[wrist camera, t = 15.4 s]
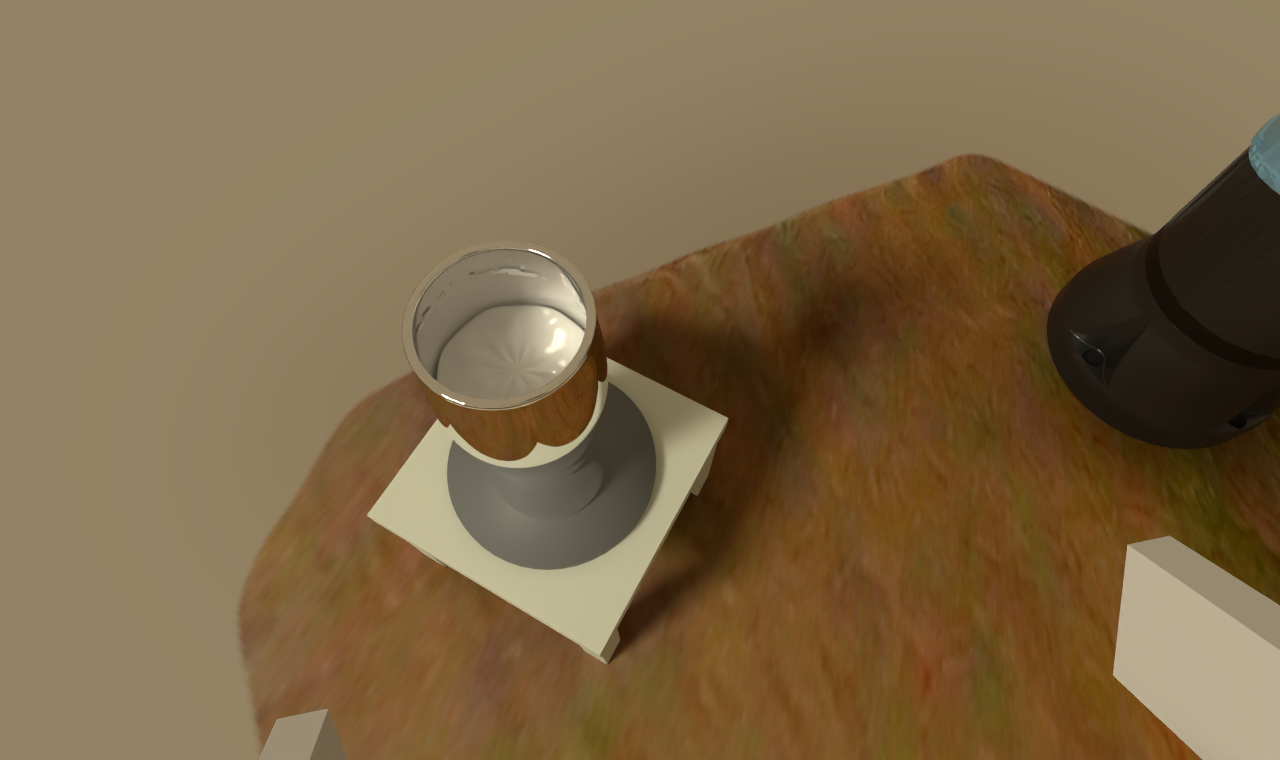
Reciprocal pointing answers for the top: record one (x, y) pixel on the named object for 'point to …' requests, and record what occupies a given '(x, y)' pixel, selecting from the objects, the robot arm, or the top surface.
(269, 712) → the top surface
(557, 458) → the beer glass
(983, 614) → the top surface
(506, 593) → the stool
